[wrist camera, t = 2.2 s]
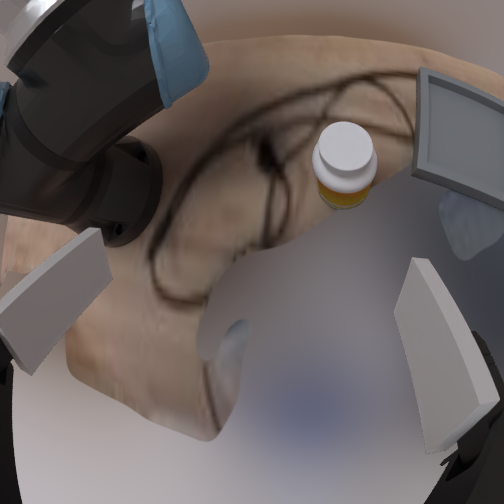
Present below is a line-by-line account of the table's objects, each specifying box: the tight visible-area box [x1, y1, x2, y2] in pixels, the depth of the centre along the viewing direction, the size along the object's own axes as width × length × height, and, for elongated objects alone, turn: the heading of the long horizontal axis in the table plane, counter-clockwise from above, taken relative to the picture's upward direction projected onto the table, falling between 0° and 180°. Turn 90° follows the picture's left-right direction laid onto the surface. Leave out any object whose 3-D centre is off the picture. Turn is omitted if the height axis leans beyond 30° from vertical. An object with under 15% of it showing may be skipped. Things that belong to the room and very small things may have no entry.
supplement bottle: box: [312, 122, 377, 210], centre depth 23 cm, size 5×5×10 cm
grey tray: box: [411, 67, 504, 211], centre depth 22 cm, size 14×14×2 cm
